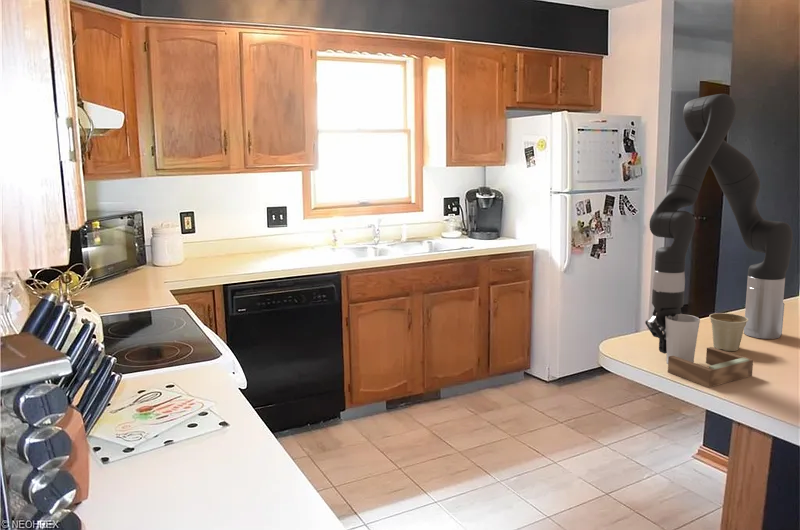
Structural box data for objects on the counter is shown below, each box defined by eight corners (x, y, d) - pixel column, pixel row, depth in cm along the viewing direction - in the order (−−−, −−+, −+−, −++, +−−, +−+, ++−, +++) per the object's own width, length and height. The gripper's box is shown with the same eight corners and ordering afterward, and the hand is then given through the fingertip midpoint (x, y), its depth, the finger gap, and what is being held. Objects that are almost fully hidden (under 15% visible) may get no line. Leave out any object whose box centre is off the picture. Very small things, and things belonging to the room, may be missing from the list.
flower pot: (754, 350, 165) (756, 319, 163) (728, 355, 162) (730, 323, 160) (724, 341, 174) (726, 311, 172) (699, 345, 170) (701, 315, 169)
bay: (709, 361, 157) (711, 345, 156) (752, 375, 147) (753, 358, 146) (667, 372, 151) (668, 354, 150) (708, 387, 141) (709, 369, 140)
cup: (667, 356, 162) (669, 312, 160) (700, 361, 157) (702, 316, 155) (659, 365, 156) (661, 319, 153) (693, 371, 151) (696, 324, 149)
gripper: (675, 282, 163) (671, 344, 166) (637, 288, 158) (634, 352, 161) (699, 287, 157) (694, 352, 160) (661, 293, 151) (657, 360, 154)
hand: (664, 352), depth 160 cm, fingers closed
